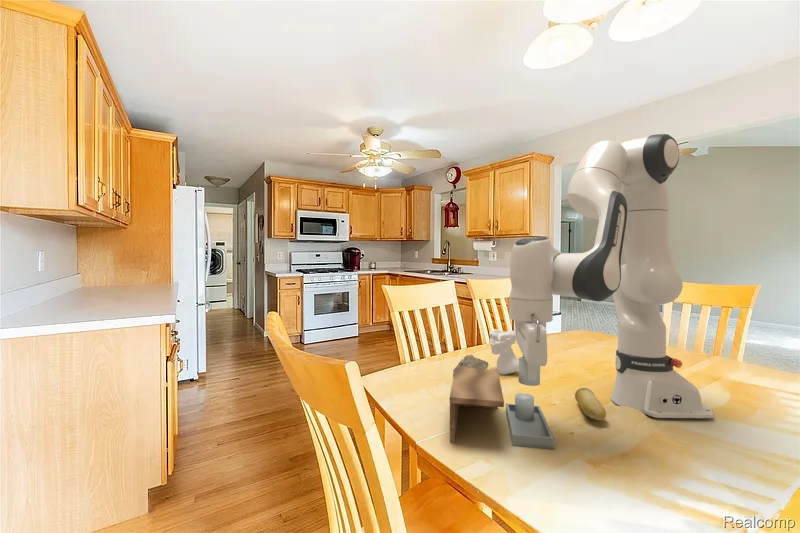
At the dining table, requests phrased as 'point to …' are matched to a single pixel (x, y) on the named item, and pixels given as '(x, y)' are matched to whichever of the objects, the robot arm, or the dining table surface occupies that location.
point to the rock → (471, 363)
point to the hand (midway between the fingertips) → (529, 375)
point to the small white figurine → (504, 351)
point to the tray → (529, 429)
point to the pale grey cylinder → (524, 407)
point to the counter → (473, 392)
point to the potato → (590, 404)
